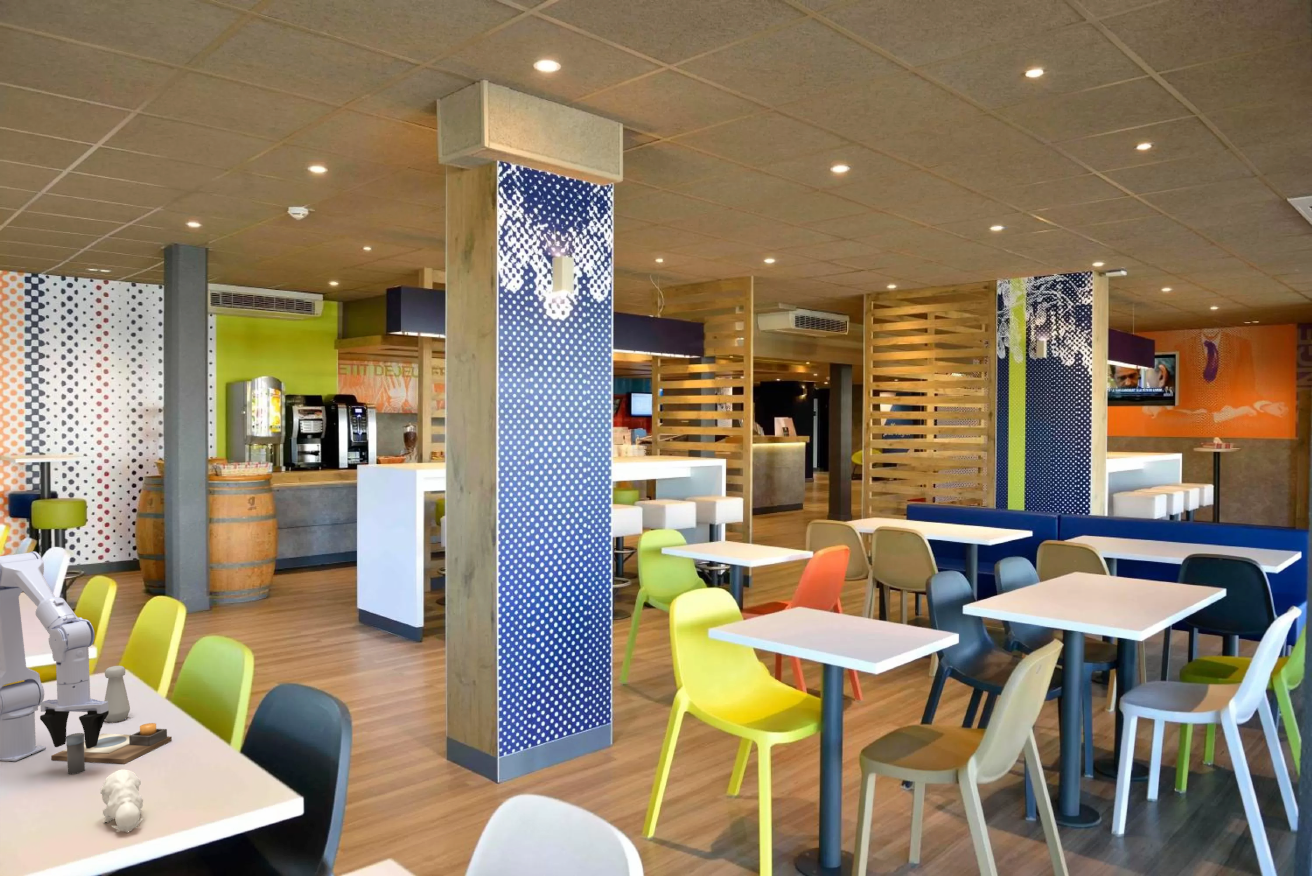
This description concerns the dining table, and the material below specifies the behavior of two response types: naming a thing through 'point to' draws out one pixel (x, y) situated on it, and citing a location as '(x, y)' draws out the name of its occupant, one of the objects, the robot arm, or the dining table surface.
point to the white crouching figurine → (122, 800)
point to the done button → (148, 729)
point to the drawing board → (120, 747)
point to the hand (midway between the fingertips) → (75, 746)
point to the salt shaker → (116, 694)
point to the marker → (75, 753)
